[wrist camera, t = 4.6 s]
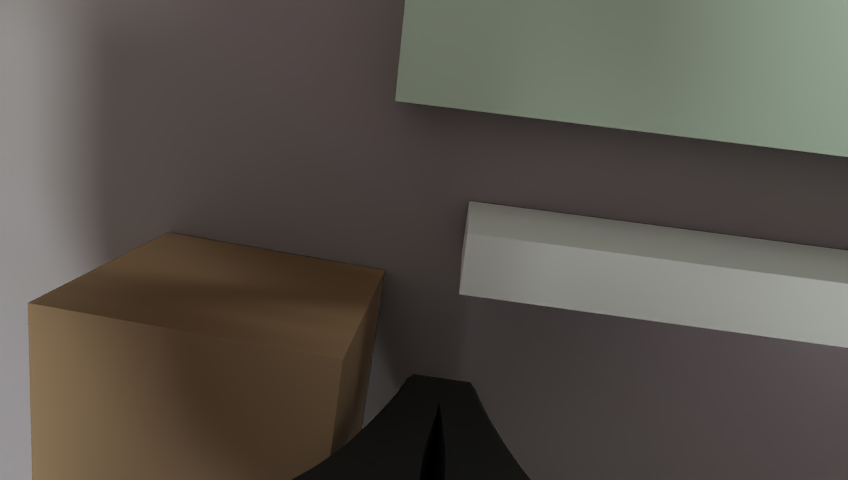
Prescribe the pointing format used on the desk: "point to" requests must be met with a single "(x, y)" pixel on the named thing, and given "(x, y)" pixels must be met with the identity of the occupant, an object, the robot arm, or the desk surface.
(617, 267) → the parallel rails
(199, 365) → the walnut block
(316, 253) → the desk surface
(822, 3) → the mat
